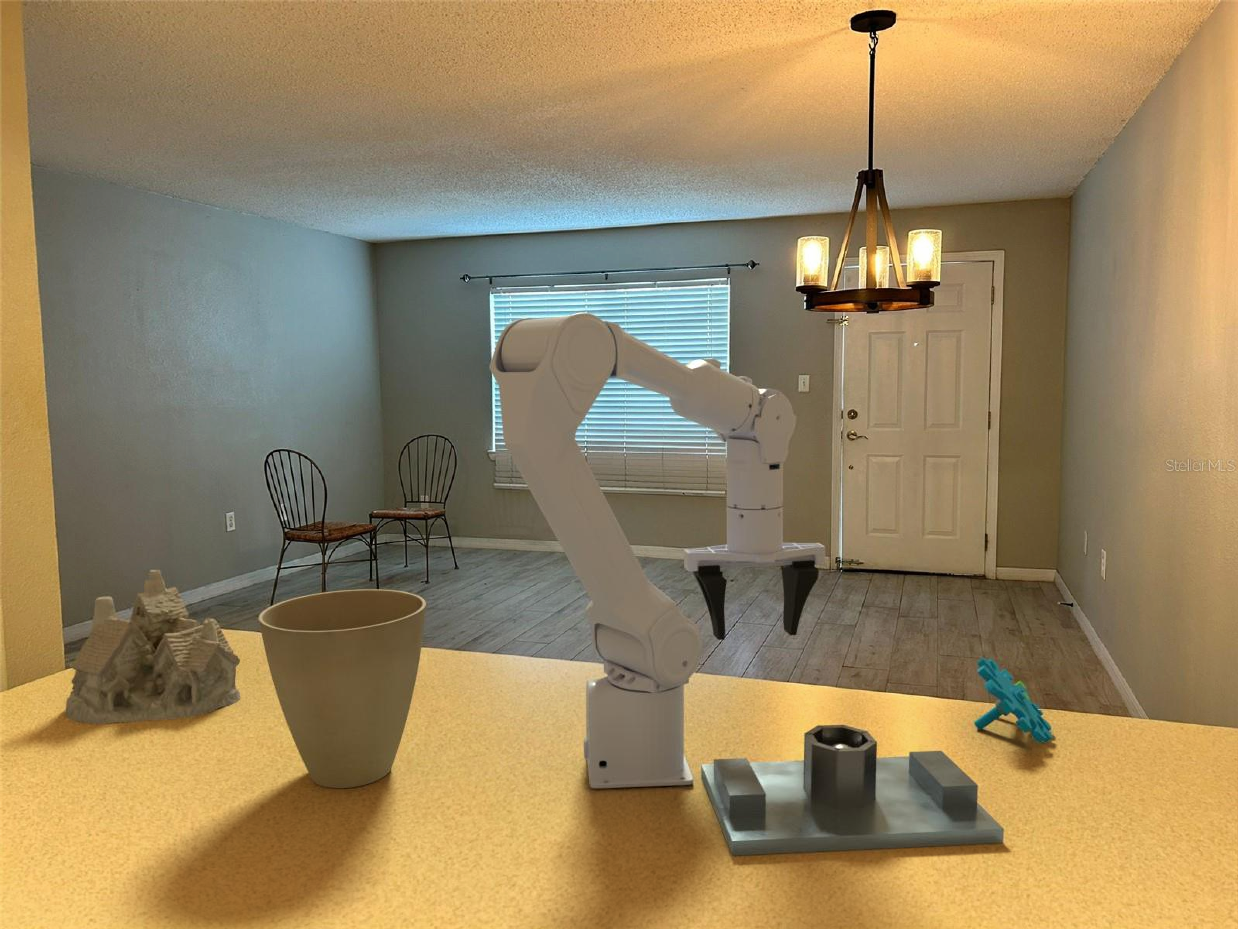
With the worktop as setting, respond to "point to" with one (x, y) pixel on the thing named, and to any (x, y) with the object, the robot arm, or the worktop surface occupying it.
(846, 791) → the collar
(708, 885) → the worktop surface
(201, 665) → the ceramic cottage
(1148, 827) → the worktop surface
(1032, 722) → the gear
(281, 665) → the plant pot
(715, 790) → the shaft mount
